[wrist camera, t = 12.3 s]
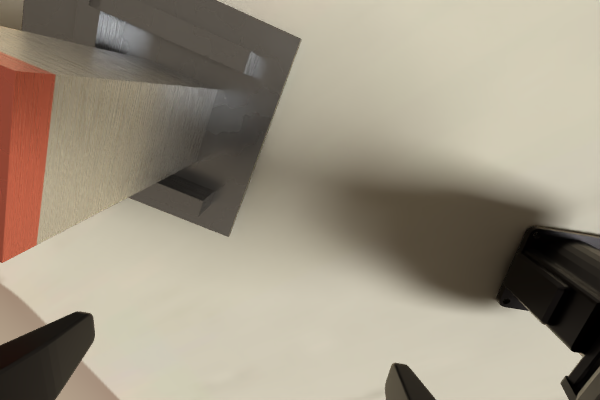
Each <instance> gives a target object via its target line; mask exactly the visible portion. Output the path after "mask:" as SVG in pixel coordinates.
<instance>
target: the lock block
mask: <svg viewBox="0 0 600 400" xmlns="http://www.w3.org/2000/svg"><path fill="white" fill-rule="evenodd" d="M217 90H218V89H216V88H213V87H211V86H209V85H206V84H204V83H202V82H199V81H197V80H195V79H192V78H190V77H188V76H185V75H183V74H181V73H178V72H176V71H174V70H171V69H169V68H167V67H164V66H162V65H160V64H157V63H155V62H153V61H150V60H148V59H143V58H139V57H134V56H130V55H126V54H121V53H117V52H113V51H108V50H104V49H99V48H95V47H91V46H86V45H82V44H78V43H73V42H69V41H64V40H60V39H56V38H51V37H47V36H43V35H38V34H34V33H29V32H25V31H21V30H16V29H12V28H8V27H3V26H0V262H1V263H3V262H5V261H7V260H9V259H11V258H13V257H14V256H16V255H18V254H20V253H22V252H24V251H26V250H28V249H30V248H32V247H34V246H36V245H38V244H40V243H41V242H43V241H45V240H47V239H49V238H51V237H53V236H55V235H57V234H59V233H61V232H63V231H65V230H66V229H68V228H70V227H72V226H74V225H76V224H78V223H80V222H82V221H84V220H86V219H88V218H90V217H92V216H93V215H95V214H97V213H99V212H101V211H103V210H105V209H107V208H109V207H111V206H113V205H115V204H117V203H118V202H120V201H122V200H124V199H126V198H128V197H130V196H132V195H134V194H136V193H138V192H140V191H142V190H143V189H145V188H147V187H149V186H151V185H153V184H155V183H157V182H159V181H161V180H163V179H165V178H167V177H169V176H170V175H172V174H174V173H176V172H178V171H180V170H182V169H184V168H186V167H188V166H190V165H192V164H194V163H195V162H196V161H197V158H198V155H199V151H200V148H201V144H202V141H203V137H204V134H205V131H206V127H207V124H208V120H209V117H210V114H211V110H212V107H213V103H214V100H215V96H216V93H217Z"/></svg>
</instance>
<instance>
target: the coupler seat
mask: <svg viewBox="0 0 600 400" xmlns="http://www.w3.org/2000/svg"><path fill="white" fill-rule="evenodd" d="M22 31H25V32H29V33H34V34H38V35H43V36H47V37H51V38H56V39H60V40H64V41H69V42H73V43H78V44H82V45H86V46H91V47H95V48H99V49H104V50H108V51H113V52H117V53H121V54H126V55H130V56H134V57H139V58H143V59H148V60H150V61H153V62H155V63H157V64H160V65H162V66H164V67H167V68H169V69H171V70H174V71H176V72H178V73H181V74H183V75H185V76H188V77H190V78H192V79H195V80H197V81H199V82H202V83H204V84H206V85H209V86H211V87H213V88H216V89H218V90H217V93H216V96H215V100H214V103H213V107H212V110H211V114H210V117H209V120H208V124H207V127H206V131H205V134H204V137H203V141H202V144H201V148H200V151H199V155H198V158H197V161H196V162H195V163H194V164H192V165H190V166H188V167H186V168H184V169H182V170H180V171H178V172H176V173H174V174H172V175H170V176H169V177H167V178H165V179H163V180H161V181H159V182H157V183H155V184H153V185H151V186H149V187H147V188H145V189H143V190H142V191H140V192H138V193H136V194H134V195H132V196H130V197H129V198H131V199H134V200H136V201H139V202H141V203H144V204H146V205H149V206H151V207H154V208H157V209H159V210H162V211H164V212H167V213H169V214H172V215H174V216H177V217H179V218H182V219H184V220H187V221H190V222H192V223H195V224H197V225H200V226H202V227H205V228H207V229H210V230H212V231H215V232H218V233H220V234H223V235H225V236H228V237H229V235H230V233H231V230H232V228H233V225H234V222H235V220H236V217H237V214H238V211H239V209H240V206H241V203H242V201H243V198H244V195H245V192H246V190H247V187H248V184H249V182H250V179H251V176H252V173H253V171H254V168H255V165H256V162H257V160H258V157H259V154H260V152H261V149H262V146H263V143H264V141H265V138H266V135H267V133H268V130H269V127H270V124H271V122H272V119H273V116H274V114H275V111H276V108H277V105H278V103H279V100H280V97H281V95H282V92H283V89H284V86H285V84H286V81H287V78H288V75H289V73H290V70H291V67H292V65H293V62H294V59H295V56H296V54H297V51H298V48H299V46H300V43H301V39H300V38H298V37H296V36H294V35H291V34H289V33H287V32H285V31H283V30H280V29H278V28H276V27H274V26H272V25H269V24H267V23H265V22H263V21H261V20H258V19H256V18H254V17H252V16H249V15H247V14H245V13H243V12H241V11H238V10H236V9H234V8H232V7H230V6H227V5H225V4H223V3H221V2H219V1H216V0H24V9H23V23H22Z"/></svg>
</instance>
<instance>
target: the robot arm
mask: <svg viewBox="0 0 600 400" xmlns="http://www.w3.org/2000/svg"><path fill="white" fill-rule="evenodd" d="M536 232H537V234H536V235H535V236H533V235H534V233H536ZM496 299H497V302H498V303H499V304H500V305H501V306H503V307H508V308H514V309H520V310H527V311H530V312H531V313H532V314H533V315H534V316H535V317H536V318H537V319H538V320H539V321H540V322H541V323H542V324H544V325H546V326H547V327H548V328H549V329H550V330H551V331H552V332H553V333H554V334H555V335H556V336H557V337H558V338H559V339H560V340H561V341H562V342H563V343H564V344H565V345H566V346H567V347H568V348H569V349H570V350H571V351H573V352H577V353H579V354H580V355H581V356H582V357H583V358H582V359H581V360H580V362H579V363H578V364H577V365H576V367H575V368H574V369H573V371H572V372H571V373H570V375H569V376H565V377H564V379H563V380H562V381H561V385H562V387H563V389H564V391H565V393H566V395H567V397H568V399H569V400H600V236H594V235H588V234H581V233H575V232H569V231H563V230H556V229H550V228H544V227H538V226H533V227H530V228H529V229H527V231H526V233H525V235H524V237H523V239H522V242H521V244H520V246H519V248H518V251H517V253H516V255H515V257H514V260H513V262H512V264H511V266H510V268H509V271H508V273H507V275H506V277H505V280H504V282H503V284H502V286H501V289H500V291H499V293H498V295H497V298H496ZM504 299H506V300H504ZM503 300H504V301H503ZM94 338H95V330H94V320H93V316H92V314H90V313H86V312H74V313H72V314H70V315H67V316H65V317H63V318H61V319H58V320H56V321H54V322H52V323H49V324H47V325H45V326H43V327H40V328H38V329H36V330H34V331H32V332H29V333H27V334H25V335H23V336H20V337H18V338H16V339H14V340H11V341H9V342H7V343H5V344H2V345H0V400H55V399H56V398H57V396H58V395H59V393H60V392H61V390H62V389H63V387H64V386H65V385H66V383H67V381H68V380H69V378H70V377H71V375H72V374H73V372H74V371H75V369H76V368H77V366H78V365H79V363H80V361H81V360H82V358H83V357H84V355H85V354H86V352H87V351H88V349H89V348H90V346H91V345H92V343H93V341H94ZM385 394H386V400H436V399H435V398H434V397H433V395H432V394H431V393H430V392H429V391H428V389H427V388H426V387H425V386H424V385H423V383H422V382H421V381H420V380H419V378H418V377H417V376H416V375H415V374H414V372H413V371H412V370H411V369H410V368H409V367H408V366H407V365H405V364H399V363H393V364H392V366H391V368H390V371H389V374H388V377H387V380H386V384H385Z"/></svg>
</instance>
